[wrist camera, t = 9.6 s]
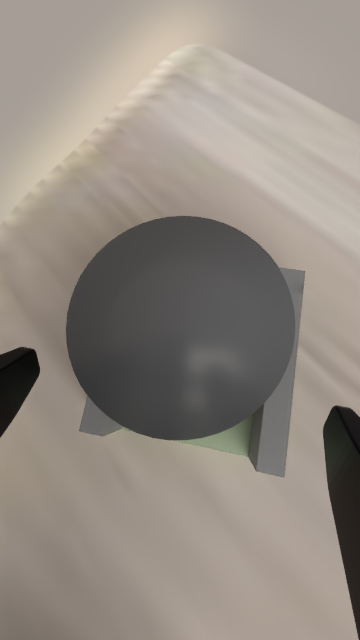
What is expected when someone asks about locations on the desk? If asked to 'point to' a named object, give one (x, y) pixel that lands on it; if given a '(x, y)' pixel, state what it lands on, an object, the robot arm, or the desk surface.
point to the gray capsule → (180, 328)
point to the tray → (254, 432)
